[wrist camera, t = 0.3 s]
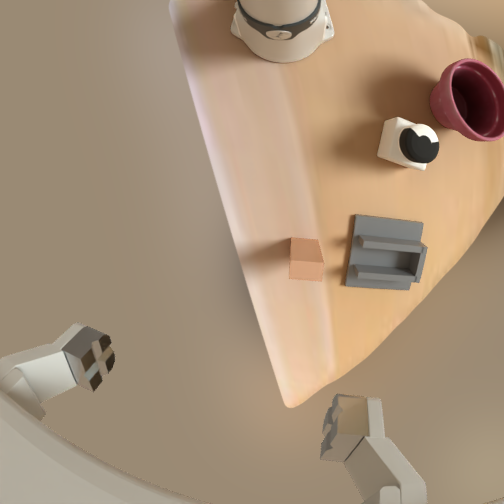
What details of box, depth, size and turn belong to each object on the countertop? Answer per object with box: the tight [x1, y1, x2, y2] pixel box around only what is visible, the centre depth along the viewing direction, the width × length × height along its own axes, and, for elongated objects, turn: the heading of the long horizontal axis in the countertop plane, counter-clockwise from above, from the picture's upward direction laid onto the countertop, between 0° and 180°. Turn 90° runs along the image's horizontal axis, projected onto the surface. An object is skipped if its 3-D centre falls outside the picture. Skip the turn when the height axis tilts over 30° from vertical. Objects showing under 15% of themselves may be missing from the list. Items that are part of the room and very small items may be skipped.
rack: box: [345, 214, 428, 290], centre depth 51 cm, size 14×14×5 cm
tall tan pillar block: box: [289, 238, 324, 281], centre depth 50 cm, size 3×5×12 cm, turn 87°
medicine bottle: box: [377, 117, 439, 171], centre depth 41 cm, size 7×7×12 cm
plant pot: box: [430, 59, 504, 141], centre depth 36 cm, size 14×14×13 cm
